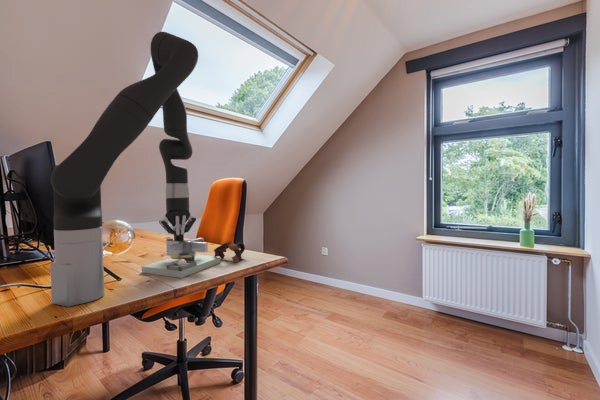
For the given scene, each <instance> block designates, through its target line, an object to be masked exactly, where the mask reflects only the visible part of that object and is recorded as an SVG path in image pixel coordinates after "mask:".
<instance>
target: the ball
mask: <svg viewBox="0 0 600 400" xmlns="http://www.w3.org/2000/svg"><path fill="white" fill-rule="evenodd" d="M177 264H178V266H182V265H185V264H186V260H184V259H180V260H179V261H178V263H177Z"/></svg>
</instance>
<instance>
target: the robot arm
mask: <svg viewBox="0 0 600 400" xmlns="http://www.w3.org/2000/svg"><path fill="white" fill-rule="evenodd" d="M196 46H197V45H195V44H194V43H192V42H191V41H189V40H187V39H185V38H183V37H180V36H177V35H175V34H172V33H170V32H166V31H158V32H157V33H155V34H154V35H153V37H152V39H151V42H150V57H151V61H152V65H153V70H154V74H152V75H150V76H149V77H147V78H144V79H142V80H139V81H136V82H134V83H132V84H129V85H128V86H126V87H124V88H123V89H121V90H120V91H119V92H118V93H117V95H115V97H113V99H112V100H111V102H109V104H108V105H107V107H106V108H105V110H104V111H103V112H102V114H101V115H100V117H99V118H98V120H97V121H96V123H95V124H94V126H93V128H92V129H91V131H90V133H89V134H88V135H87V136H86V138H85V139H84V140H83V141H82V142H81V143H80V144H79V146H77V147H76V148H75V149H74V150H73V151H72V152H71V153H70V154H69V155H68V156H67V157H66V158H64V160H62V161H61V162H60V163H58V164H57V166H56V167H55V168H54V169H53V170H52V172H51V175H50V183H51V186H52V188H53V219H52V220H53V239H54V240H53V242H54V244H53V245H54V261H52V262H50V285H51V286H50V289H51V304H52V305H53V304H54V305H57V306H64V307H67V308H70V307H72V306H73V307H74V306H76V305H81V304H86V303H90V302H93V301H96V300H98V299H101V298H103V296H104V295H105V275H104V274H105V271H104V270H105V269H104V243H103V242H104V239H103V212H102V191H101V190H102V188H101V186H102V183H103V181H104V180H105V178H106V176H107V174H108V173H109V172H110V169H111V168H112V167H113V165H114V164H115V161H116V160H117V159H118V158H119V157H120V155H121V154H122V153H123V152H124V151H125V150H126V149H127V148H128V147H130V146H131V145H132V144H133V143H134V141H135V140H136V139H137V138H138V137H139V136H140V135H141V134H142V132H144V131H145V129H146V128H147V127H148V125H149V124H150V122H152V120H153V118H154V117H155V116H156V114H157V113H158V111H159V110H160V109H161V107H162V119H163V120H162V121H163V131H164V133H165V135H167V136H168V137H171V138H163V139H162V140H160V142H159V144H158V145H159V146H158V149H159V154H160V155H161V158H162V163H163V165H164V169H165V171H164V172H165V184H166V185H165V210H166V213H165V214H164V215H165V217H163V219H160V220H159V221H158V224H159V225H160V226H161V227H162V228H163V229H164V230H165V232H167V233H168V234H170V235H173V240H178V241H184V238H185V237H184V235H185V234H186V233H189V232H190V230H191V228H192V227H193V225H194V224H195V223H196V221H197V218H196V217H194V216H192V215H191V211H190V189H189V179H188V177H189V176H188V168H187V167H185V166H181V165H176V164H174V163H173V162H172V160H176V161H177V160H182V161H183V160H184V161H187V160H189V159H191V157H192V155H193V146H192V143H191V141H190V138H189V134H188V123H187V121H188V118H187V117H188V116H187V114H188V113H187V109H186V104H185V102H184V100H183V99H182V96H181V94H180V92H179V90H178V87H180V86H181V84H182V83H183V82H185V80H187V78H188V77H189V76H190V75H191V74H192V73H193V72H194V70H195V68H196V66H197V64H198V60H199V51H198V48H197V47H196ZM169 223H170V225H171V226H170V225H169Z"/></svg>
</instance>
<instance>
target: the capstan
mask: <svg viewBox="0 0 600 400" xmlns="http://www.w3.org/2000/svg"><path fill="white" fill-rule="evenodd" d="M165 242H166V256H169V258H172V259H179V260H180V259H184V260H186V261H194V260H195V256H196V255H197V254H196V253H207V252H209V250H208V248H209V247H208V242H205V239H204V237H197V238H193V239H185V240H184V241H178V240H174V238H166V241H165Z"/></svg>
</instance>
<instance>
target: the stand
mask: <svg viewBox="0 0 600 400" xmlns="http://www.w3.org/2000/svg"><path fill="white" fill-rule="evenodd" d="M178 261H179V259H172V258H170V257H169V258H166V259H163V260H159V261H156V262H153V263H149V264H146V265H141V273H143V274H149V275H157V276H165V277H172V278H178V279H179V278H180V279H182V278H184V277H187V276H189V275H193V274H194V273H197V272H200V271H203V270H205V269H207V268H208V269H209V268H210V267H213V266H215V265H218V264H220V263H221V257H220V256H216V257H215V255H202V254H196V256H195V260H194V261H186V264H185V265H182V266H178V264H177V263H178Z"/></svg>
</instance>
